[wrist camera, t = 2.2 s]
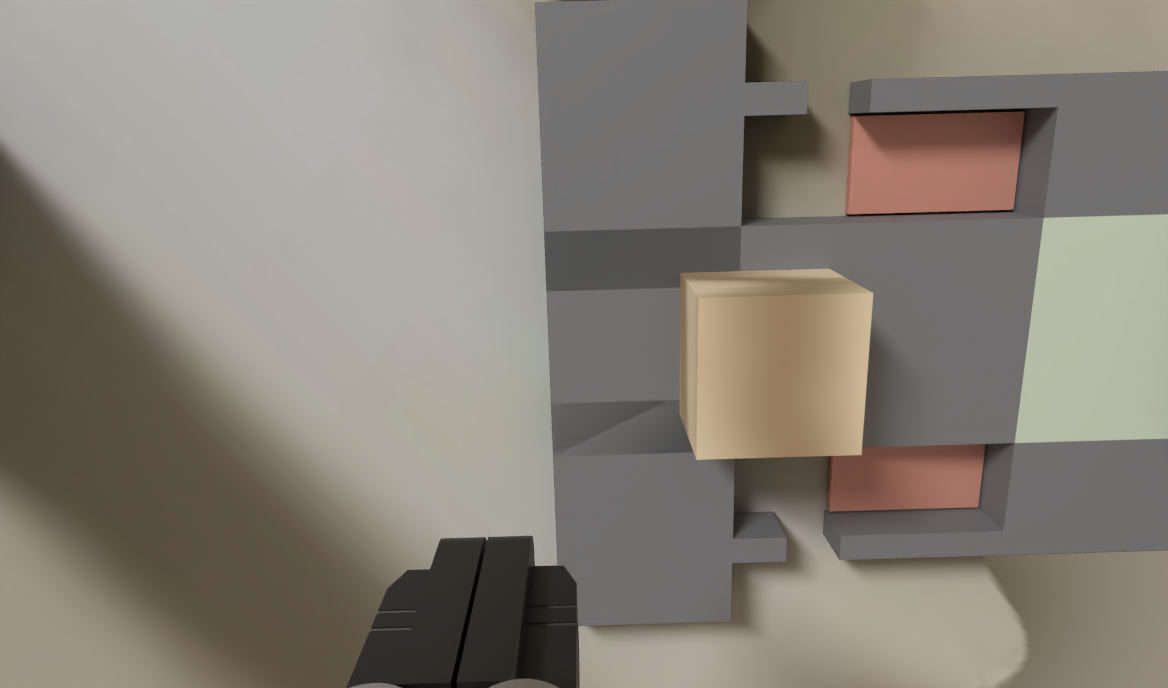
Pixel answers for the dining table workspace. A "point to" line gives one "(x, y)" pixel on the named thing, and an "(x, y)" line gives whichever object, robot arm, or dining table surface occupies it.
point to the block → (773, 363)
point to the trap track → (899, 312)
